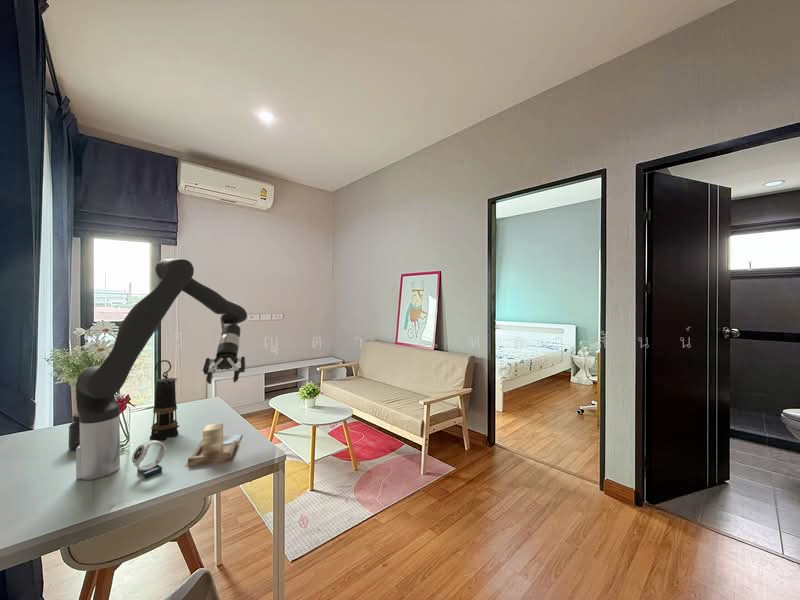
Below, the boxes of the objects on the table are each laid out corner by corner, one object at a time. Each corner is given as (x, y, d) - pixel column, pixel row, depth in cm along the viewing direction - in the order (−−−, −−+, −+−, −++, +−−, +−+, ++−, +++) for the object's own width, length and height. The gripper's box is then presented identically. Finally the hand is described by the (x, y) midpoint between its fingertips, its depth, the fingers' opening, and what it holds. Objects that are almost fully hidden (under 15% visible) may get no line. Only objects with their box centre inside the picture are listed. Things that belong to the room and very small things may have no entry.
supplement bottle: (81, 451, 114) (81, 418, 114) (62, 451, 114) (62, 417, 114) (100, 442, 121) (100, 411, 121) (82, 442, 121) (82, 410, 121)
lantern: (181, 436, 127) (180, 360, 127) (152, 443, 120) (152, 364, 120) (175, 429, 133) (175, 357, 133) (147, 436, 127) (147, 360, 126)
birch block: (202, 460, 106) (202, 430, 106) (206, 453, 111) (206, 424, 110) (219, 458, 107) (219, 429, 107) (223, 451, 112) (223, 423, 112)
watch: (129, 481, 97) (129, 445, 96) (160, 469, 103) (160, 435, 103) (137, 487, 94) (137, 450, 93) (168, 474, 100) (168, 439, 100)
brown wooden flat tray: (184, 471, 102) (184, 459, 102) (202, 443, 121) (202, 432, 121) (233, 465, 106) (233, 453, 106) (243, 438, 125) (243, 428, 125)
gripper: (207, 342, 127) (198, 378, 116) (246, 340, 131) (241, 375, 121) (210, 353, 132) (202, 388, 122) (248, 351, 137) (244, 385, 126)
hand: (222, 382), depth 121 cm, fingers open, 8 cm apart
